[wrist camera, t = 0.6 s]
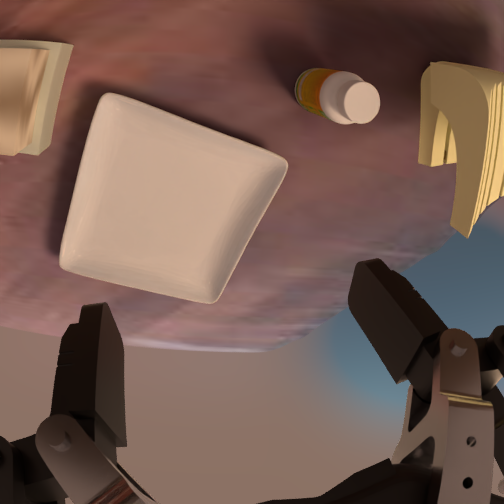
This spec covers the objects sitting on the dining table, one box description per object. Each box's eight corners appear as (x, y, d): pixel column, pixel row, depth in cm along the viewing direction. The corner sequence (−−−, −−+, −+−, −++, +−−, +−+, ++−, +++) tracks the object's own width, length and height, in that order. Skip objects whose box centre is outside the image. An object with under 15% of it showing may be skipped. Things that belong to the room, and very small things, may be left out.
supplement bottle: (289, 108, 33) (331, 126, 25) (297, 63, 30) (342, 67, 22) (331, 115, 35) (379, 135, 27) (339, 73, 32) (391, 82, 24)
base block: (-9, 40, 19) (-28, 40, 15) (74, 45, 23) (62, 42, 20) (-26, 133, 24) (-45, 144, 20) (51, 143, 28) (38, 155, 24)
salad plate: (212, 291, 45) (216, 308, 42) (62, 255, 35) (56, 271, 33) (283, 153, 36) (294, 162, 33) (107, 86, 27) (101, 89, 24)
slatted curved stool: (499, 70, 35) (582, 100, 21) (493, 151, 44) (566, 194, 30) (371, 54, 31) (490, 75, 17) (373, 171, 40) (467, 238, 26)
